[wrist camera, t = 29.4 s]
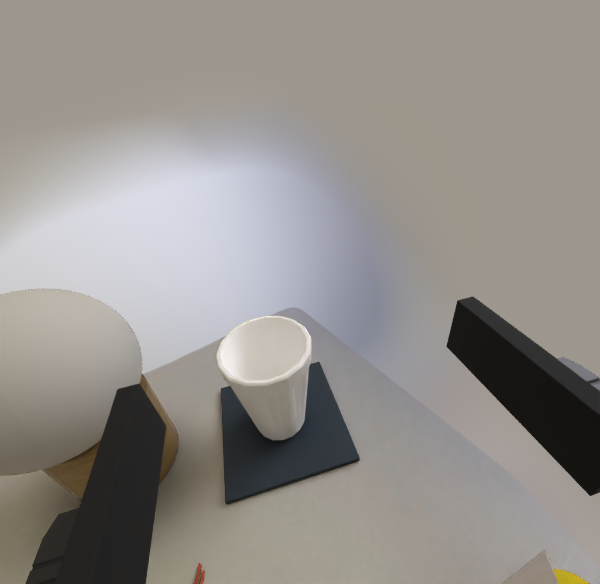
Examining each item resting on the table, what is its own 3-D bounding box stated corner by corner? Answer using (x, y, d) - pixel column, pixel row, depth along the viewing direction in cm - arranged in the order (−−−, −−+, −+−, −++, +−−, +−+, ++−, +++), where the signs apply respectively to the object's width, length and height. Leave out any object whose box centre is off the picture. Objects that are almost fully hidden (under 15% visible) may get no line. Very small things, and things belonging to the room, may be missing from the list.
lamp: (214, 491, 32) (106, 312, 18) (64, 596, 26) (-264, 452, 12) (177, 397, 43) (92, 239, 29) (66, 456, 37) (-108, 295, 23)
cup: (294, 374, 44) (282, 304, 36) (335, 427, 36) (331, 352, 29) (231, 410, 40) (203, 339, 32) (262, 476, 32) (236, 404, 25)
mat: (319, 364, 46) (319, 361, 45) (359, 460, 33) (359, 457, 33) (221, 390, 43) (220, 388, 43) (226, 504, 31) (225, 502, 31)
